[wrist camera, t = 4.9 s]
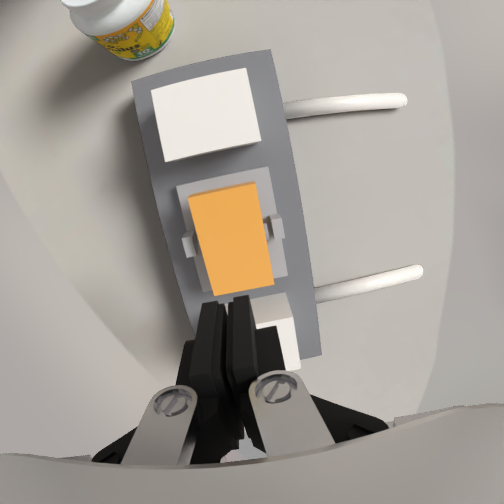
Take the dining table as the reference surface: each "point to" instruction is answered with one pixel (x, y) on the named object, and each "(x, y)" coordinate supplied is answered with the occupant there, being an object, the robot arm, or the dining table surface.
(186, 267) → the power strip
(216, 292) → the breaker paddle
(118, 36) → the supplement bottle
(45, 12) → the dining table surface
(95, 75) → the dining table surface
